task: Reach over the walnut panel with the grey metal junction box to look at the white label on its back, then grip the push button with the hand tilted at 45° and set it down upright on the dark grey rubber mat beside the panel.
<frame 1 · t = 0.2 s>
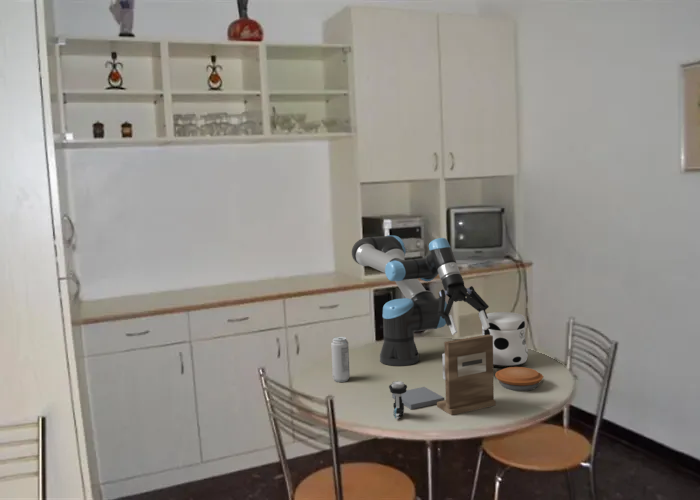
hand: (471, 331, 220), 16 cm above the table, tool tilted 35°, fingers open, 13 cm apart
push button: (398, 417, 186), on the table
mounted unit: (466, 406, 192), on the table
milk container: (503, 364, 234), on the table
energy drink can: (341, 380, 222), on the table
pie: (519, 386, 209), on the table
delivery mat: (418, 399, 199), on the table
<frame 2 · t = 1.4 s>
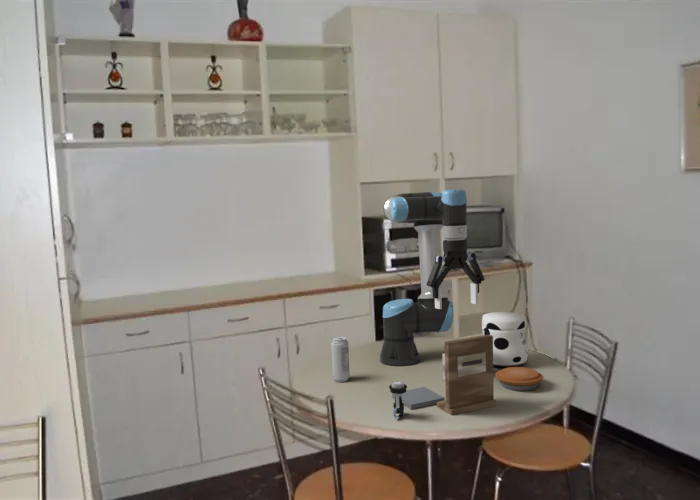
hand: (456, 306, 198), 29 cm above the table, tool pointing down, fingers open, 13 cm apart
nothing on the table moved.
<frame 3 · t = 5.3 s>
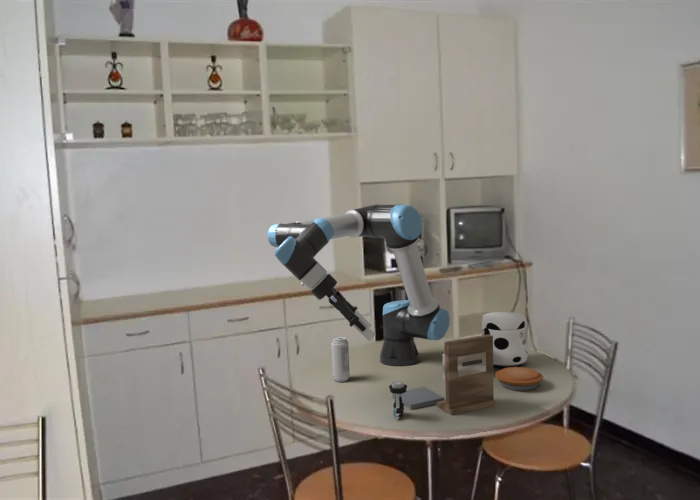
hand: (370, 333, 183), 26 cm above the table, tool tilted 40°, fingers open, 13 cm apart
nothing on the table moved.
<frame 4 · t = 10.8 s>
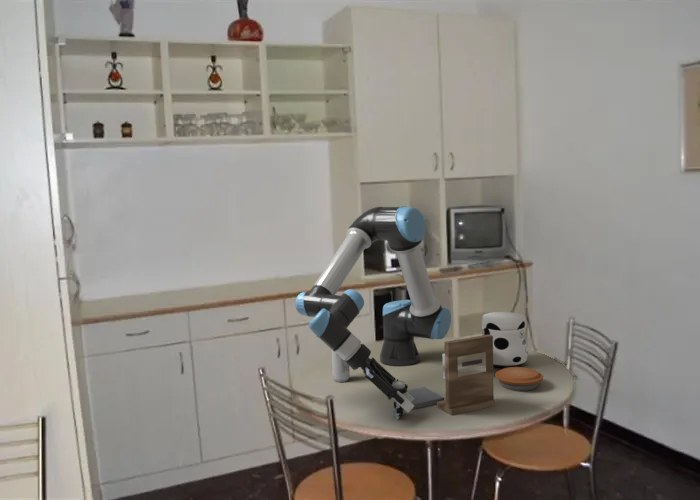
hand: (410, 405, 185), 3 cm above the table, tool tilted 45°, fingers closed on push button, 5 cm apart
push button: (398, 416, 186), on the table, touching gripper
everything else where it was.
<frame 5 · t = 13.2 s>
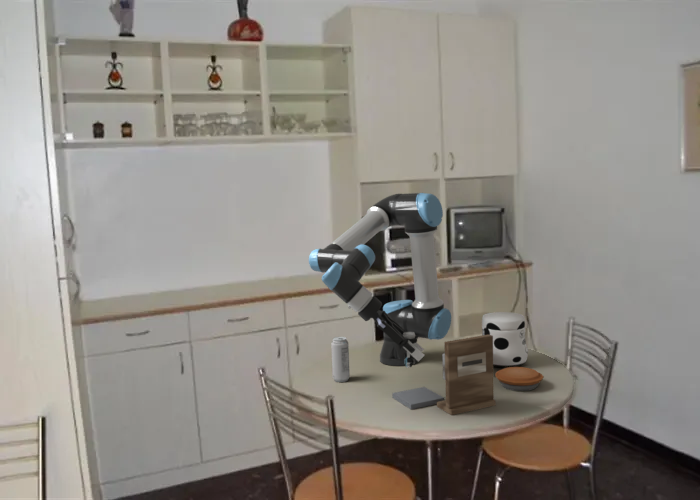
hand: (421, 355, 192), 16 cm above the table, tool tilted 45°, fingers closed on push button, 5 cm apart
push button: (409, 365, 192), point 13 cm above the table, touching gripper
everything else where it was.
when the fingers open (6 cm above the table, at t = 15.8 s): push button drops 2 cm, resting on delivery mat.
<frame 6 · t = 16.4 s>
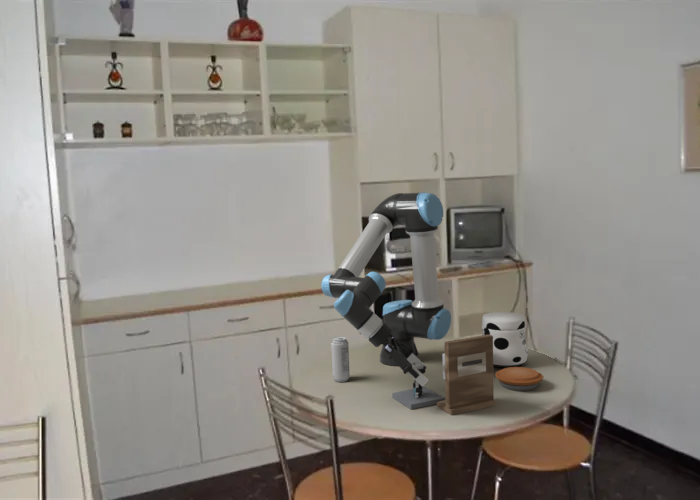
hand: (424, 376, 198), 8 cm above the table, tool tilted 45°, fingers open, 13 cm apart
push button: (417, 396, 199), point 1 cm above the table, touching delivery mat
everything else where it was.
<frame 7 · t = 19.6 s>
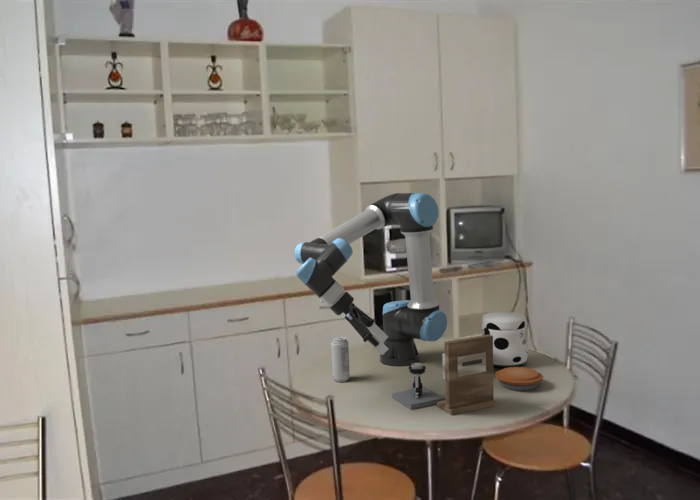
hand: (385, 345, 198), 18 cm above the table, tool tilted 45°, fingers open, 13 cm apart
nothing on the table moved.
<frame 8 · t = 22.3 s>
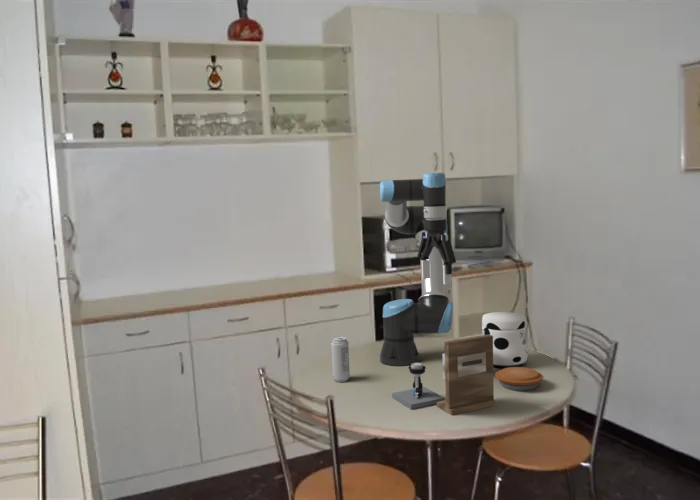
hand: (436, 281, 213), 35 cm above the table, tool pointing down, fingers open, 13 cm apart
nothing on the table moved.
at the end: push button inside the target area on the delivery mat (0.2 cm from its centre), point 1.3 cm above the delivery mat's base; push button tilted 0°; the gripper is holding nothing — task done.
